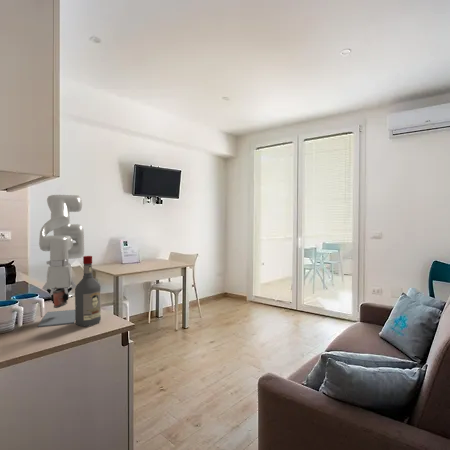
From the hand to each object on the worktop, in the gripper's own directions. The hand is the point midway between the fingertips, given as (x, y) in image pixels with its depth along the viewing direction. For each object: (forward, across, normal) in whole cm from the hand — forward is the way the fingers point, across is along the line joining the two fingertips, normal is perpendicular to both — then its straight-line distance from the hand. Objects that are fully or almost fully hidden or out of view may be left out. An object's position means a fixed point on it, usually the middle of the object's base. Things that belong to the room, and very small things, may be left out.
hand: (59, 301), depth 147 cm
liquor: (+8, +13, -11) cm, 19 cm away
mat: (+8, 0, 0) cm, 8 cm away
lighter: (+2, 0, 0) cm, 2 cm away
